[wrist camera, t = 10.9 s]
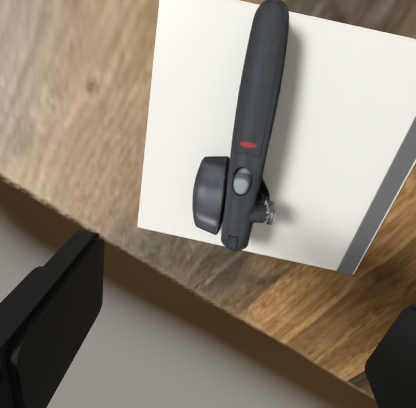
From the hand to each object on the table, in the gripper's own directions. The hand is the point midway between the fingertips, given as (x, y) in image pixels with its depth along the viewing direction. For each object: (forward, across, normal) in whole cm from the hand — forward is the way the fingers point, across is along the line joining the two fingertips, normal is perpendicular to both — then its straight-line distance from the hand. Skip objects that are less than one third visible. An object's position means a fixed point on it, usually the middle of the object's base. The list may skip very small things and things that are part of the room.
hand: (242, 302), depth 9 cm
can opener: (+18, 0, -1) cm, 18 cm away
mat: (+18, -3, 0) cm, 18 cm away
